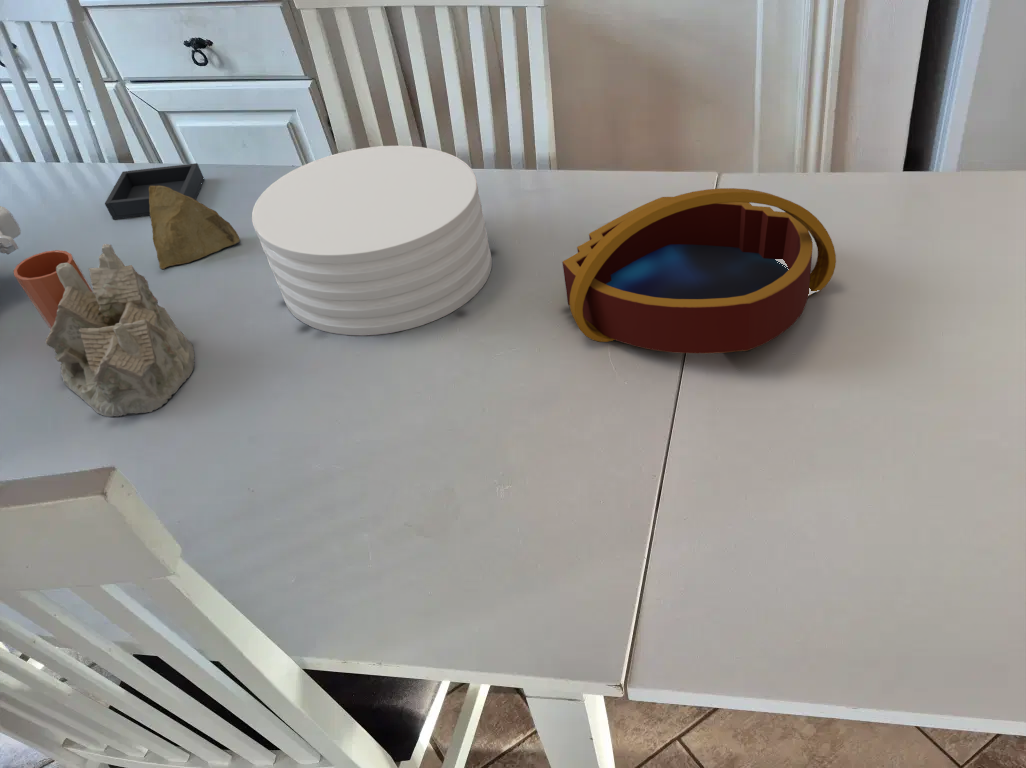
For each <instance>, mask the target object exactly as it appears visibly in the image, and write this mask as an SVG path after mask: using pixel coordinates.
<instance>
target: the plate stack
mask: <svg viewBox="0 0 1026 768" xmlns="http://www.w3.org/2000/svg"><path fill="white" fill-rule="evenodd" d="M475 174H476V173H475V172H474V171H473V169H472V168H471V167H470V165H468V164H467V163H466V162H465V161H464V160H462V159H461V158H459V157H457V156H455V155H452V154H450V153H448V152H445V151H441V150H439V149H434V148H430V147H423V146H415V145H379V146H371V147H364V148H363V147H362V148H356V149H351V150H346V151H343V152H338V153H335V154H330V155H327V156H324V157H321V158H317V159H316V160H312V161H310V162H308V163H305V164H303V165H301V166H299V167H297V168H294V169H293V170H291V171H289V172H287V173H286V174H284V175H283V176H281V177H279V178H278V179H277V180H275V181H274V182H272V184H270V185H269V186H268V187H266V188H265V190H264V191H263V192H262V193H261V194H260V195H259V197H258V198H257V200H256V201H255V204H254V205H253V208H252V213H251V221H252V225H253V228H254V231H255V233H256V235H257V237H258V239H259V242H260V245H261V247H262V250H263V253H264V254H265V256H266V259H267V262H268V264H269V267H270V270H271V271H272V273H273V275H274V279H275V281H276V284H277V287H278V289H279V291H280V292H281V296H282V298H283V300H284V303H285V305H286V308H287V309H288V311H289V312H290V313H291V315H293V316H294V318H296V319H297V320H299V321H300V322H301V323H304V324H305V325H307V326H308V327H311V328H313V329H316V330H319V331H322V332H326V333H329V334H337V335H344V336H379V335H386V334H394V333H398V332H402V331H403V332H404V331H407V330H411V329H415V328H418V327H421V326H424V325H427V324H429V323H430V324H431V323H432V322H435V321H437V320H439V319H441V318H444V317H446V316H448V315H450V314H452V313H453V312H455V311H457V310H458V309H460V308H461V307H463V306H464V305H465V304H467V303H468V302H469V301H470V300H472V299H473V298H474V297H475V296H476V295H477V294H478V293H479V292H480V291H481V290H482V289H483V287H484V286H485V284H486V283H487V281H488V279H489V277H490V274H491V271H492V266H493V259H492V253H491V248H490V245H489V238H488V233H487V229H486V222H485V217H484V214H483V213H484V212H483V207H482V201H481V197H480V193H479V186H478V185H479V184H478V182H477V181H478V180H477V177H476V175H475Z"/></svg>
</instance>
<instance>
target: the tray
mask: <svg viewBox="0 0 1026 768" xmlns="http://www.w3.org/2000/svg"><path fill="white" fill-rule="evenodd" d="M204 177H205V176H204V175H203V172H202V171H201V168H200V165H199V163H197V162H196V163H195V162H194V163H187V164H178V165H177V164H176V165H170V166H169V165H168V166H159V167H152V168H141V169H133V170H132V169H131V170H124V171H122V172H121V174H120V176H119V177H118V179H117V181H116V182H115V184H114V186H113V188H112V189H111V191H110V193H109V195H108V197H107V199H106V200H105V202H104V205H105V207H106V209H107V211H108V213H109V214H110V216H111V219H112V220H113V221H114V220H124V219H132V218H140V217H141V218H142V217H149V216H150V204H149V186H150V185H151V186H165V187H168V188H171V189H172V190H174V191H177V192H179V193H181V194H183V195H185V196H189V197H191V198H193V199H195V200H197V198H198V196H199V193H200V190H201V188H202V185H203V183H204V181H205V178H204ZM203 178H204V179H203ZM201 183H202V184H201Z"/></svg>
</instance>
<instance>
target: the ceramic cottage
mask: <svg viewBox="0 0 1026 768" xmlns="http://www.w3.org/2000/svg"><path fill="white" fill-rule="evenodd" d="M98 261H99V266H98V267H90V268H88V271H89V278H90V283H91V285H92V286H91V287H92V289H93V291H94V293H95V294H94V293H93V292H90V290H89V289H88V287H87V285H86V284H85V282H84V281H83V280H82V278H81V277H80V275H79V274H78V272H77V271H76V270H75V268H74V267H73V266H72V265H71V264H69V263H61V264H59V265H58V266H57V267H56V272H57V275H58V277H59V280H60V282H61V283H62V284H63V286H64V288H65V291H64V294H63V298H62V299H61V301H60V303H59V305H58V310H57V316H56V318H55V323H54V325H53V326H52V328H51V330H50V331H49V333H48V336H47V337H46V338H45V345H46V346H47V347H50V348H52V349H53V351H54V353H55V354H56V355H55V357H54V358H55V360H56V361H57V362H59V363H60V364H59V368H60V371H61V372H60V374H61V376H62V380H63V383H64V385H65V386H66V387H67V388H68V389H69V390H70V391H72V392H73V393H75V395H77V396H78V397H80V399H81V400H83V401H84V402H85V403H86V404H87V405H88V406H89V407H90V408H91V409H92V410H93V411H95V412H96V413H97V414H98V415H101V416H103V417H106V418H107V417H108V418H109V417H110V418H113V417H119V416H120V417H122V416H127V414H135V415H138V414H142V413H143V414H145V413H146V414H147V413H148V412H149V413H153V412H154V411H156V410H158V409H159V408H162V406H164V404H166V403H168V400H169V399H171V398H172V397H173V396H172V395H175V393H177V392H178V390H179V389H180V387H181V386H182V385H183V384H184V383H185V382H186V381H187V380H188V379H189V378H190V377H191V376H190V375H192V372H193V370H194V368H195V363H196V362H195V349H194V346H193V344H192V342H191V341H189V340H188V339H187V337H186V336H185V334H184V333H182V331H180V329H179V328H177V326H176V324H175V322H174V321H173V319H172V317H171V316H170V314H169V312H168V311H167V310H166V308H164V307H163V306H161V305H159V303H158V302H159V301H158V299H157V297H155V296H154V294H153V293H152V291H151V289H150V287H149V281H148V280H147V278H146V277H145V276H144V275H141V274H140V273H139V272H138V271H137V270H136V269H135V268H134V266H133V264H129V265H125V264H124V262H123V260H122V259H121V258H120V257H119V256H118V254H116V252H115V250H114V248H113V246H112V244H108V243H103V244H102V246H101V254H100V255H98Z"/></svg>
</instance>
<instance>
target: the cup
mask: <svg viewBox="0 0 1026 768" xmlns="http://www.w3.org/2000/svg"><path fill="white" fill-rule="evenodd" d="M61 263H69V264H71V265H72V266H73V267H74V268H75V270H76V271H77V272H78V274H79V275H80V277H81V278H82V280H83V281H84V282H85V284H86V285H87V287H88V289H89V290H90V292H93V293H94V291H93V287H92V286H91V284H90V283H89V281H88V280H87V278H86V276H85V274H84V273H83V271H82V269H81V268H80V266H79V264H78V263H77V261H76V259H75V258H74V256H73V255H72V253H70V252H68V251H66V250H59V249H55V250H47V251H43V252H39V253H36V254H33V255H31V256H29V257H27V258H24V259H23V260H22V261H20V262H19V263H18V264H16V266H15V268H14V269H13V276H14V277H15V279H16V281H17V282H18V284H19V285H20V286H21V288H22V289H23V291H24V293H25V294H26V295H27V297H28V299H29V300H30V302H31V303H32V305H33V306H34V308H35V309H36V311H37V312H38V313H39V315H40V316H41V318H42V319H43V321H44V323H45V324H46V325H47V328H49V330H50V331H51V328H52V326H53V325H54V323H55V318H56V316H57V310H58V305H59V303H60V301H61V299H62V298H63V294H64V291H65V288H64V286H63V284H62V283H61V282H60V280H59V277H58V275H57V272H56V267H57V266H58V265H59V264H61ZM94 294H95V293H94Z"/></svg>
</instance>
